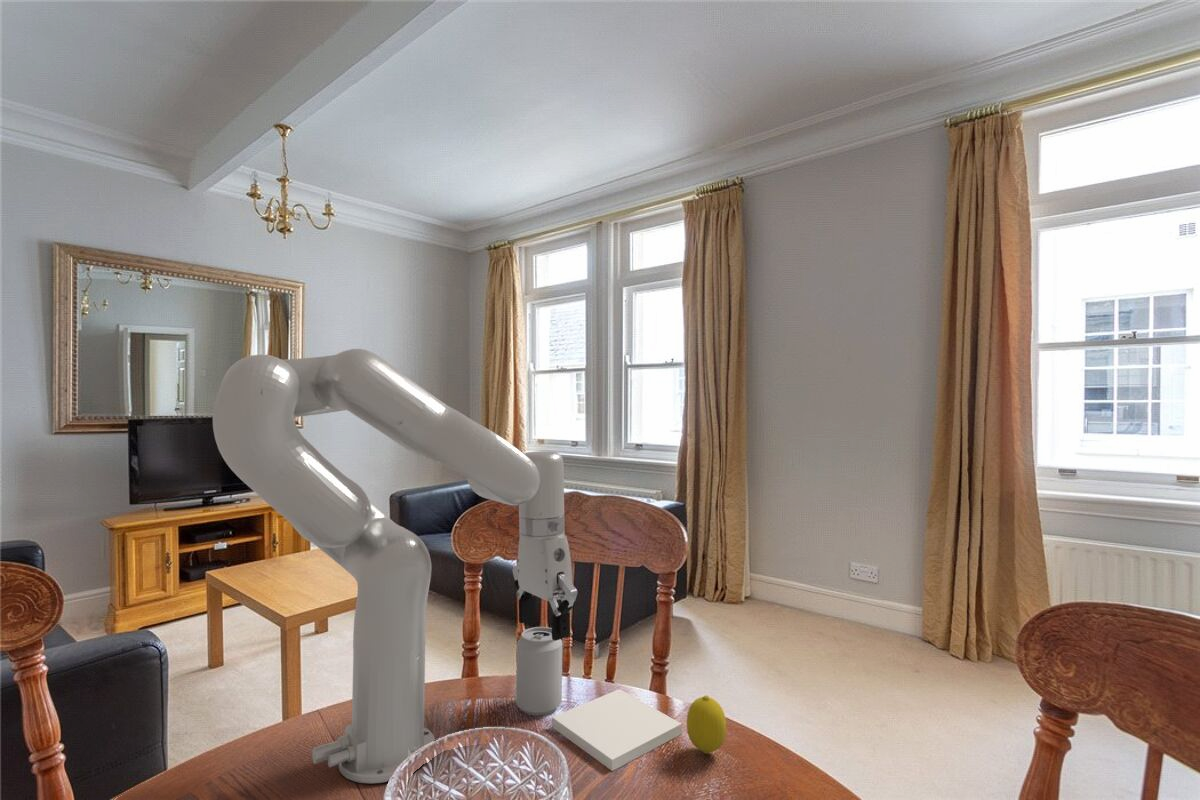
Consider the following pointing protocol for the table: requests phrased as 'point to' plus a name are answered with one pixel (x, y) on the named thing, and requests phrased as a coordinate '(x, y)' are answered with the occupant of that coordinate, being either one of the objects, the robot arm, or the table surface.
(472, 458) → the robot arm
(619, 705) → the plate
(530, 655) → the can
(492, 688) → the table surface
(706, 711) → the lemon
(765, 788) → the table surface
